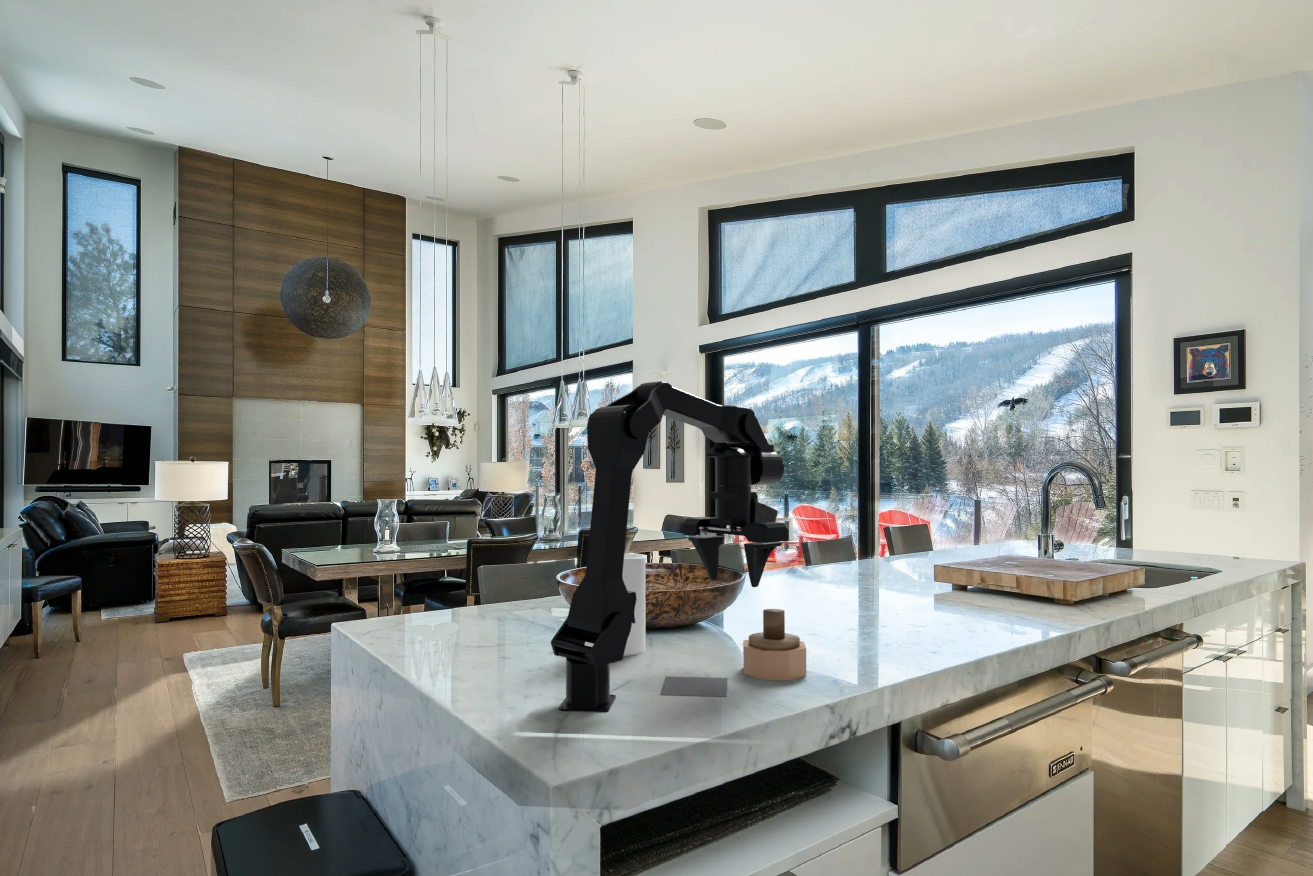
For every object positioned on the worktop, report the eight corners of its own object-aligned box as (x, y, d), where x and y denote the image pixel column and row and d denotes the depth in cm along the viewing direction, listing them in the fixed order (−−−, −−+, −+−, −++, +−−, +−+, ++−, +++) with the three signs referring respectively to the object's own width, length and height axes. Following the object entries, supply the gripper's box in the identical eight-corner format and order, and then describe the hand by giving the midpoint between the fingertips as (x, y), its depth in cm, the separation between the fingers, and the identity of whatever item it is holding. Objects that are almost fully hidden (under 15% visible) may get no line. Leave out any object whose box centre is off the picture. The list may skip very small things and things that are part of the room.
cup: (637, 658, 123) (637, 559, 124) (589, 655, 125) (590, 557, 126) (651, 647, 131) (651, 554, 131) (606, 645, 133) (606, 553, 134)
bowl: (808, 683, 109) (807, 652, 109) (743, 681, 110) (743, 650, 110) (802, 666, 118) (802, 638, 118) (743, 665, 119) (743, 636, 119)
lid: (801, 650, 110) (801, 616, 110) (749, 649, 111) (749, 615, 111) (797, 639, 118) (797, 606, 118) (748, 638, 118) (748, 605, 119)
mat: (726, 699, 101) (726, 696, 101) (659, 697, 102) (659, 694, 102) (727, 680, 110) (727, 678, 110) (665, 679, 111) (665, 676, 111)
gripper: (811, 486, 120) (812, 585, 119) (728, 484, 134) (728, 572, 133) (763, 487, 113) (763, 593, 112) (680, 485, 127) (681, 578, 126)
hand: (733, 583), depth 121 cm, fingers open, 9 cm apart
